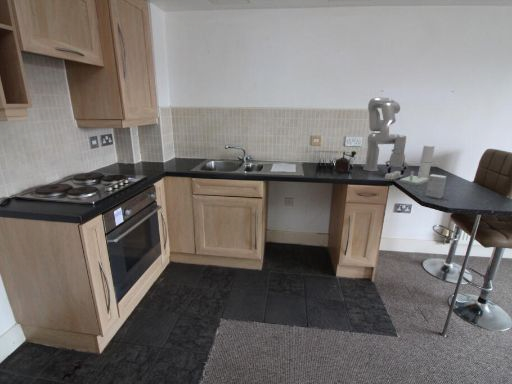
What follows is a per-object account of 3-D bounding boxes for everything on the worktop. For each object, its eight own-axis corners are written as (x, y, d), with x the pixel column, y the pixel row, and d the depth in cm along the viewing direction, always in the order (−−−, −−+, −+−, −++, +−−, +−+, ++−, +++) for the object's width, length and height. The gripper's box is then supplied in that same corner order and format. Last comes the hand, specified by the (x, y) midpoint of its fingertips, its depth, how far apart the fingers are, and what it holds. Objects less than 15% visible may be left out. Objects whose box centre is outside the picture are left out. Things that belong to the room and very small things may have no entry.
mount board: (399, 182, 206) (401, 171, 204) (411, 177, 220) (413, 167, 218) (416, 185, 198) (419, 174, 195) (428, 181, 211) (430, 170, 209)
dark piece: (334, 171, 237) (336, 149, 232) (337, 169, 247) (339, 148, 241) (353, 173, 230) (356, 151, 225) (355, 171, 240) (358, 150, 235)
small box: (442, 196, 173) (447, 176, 169) (440, 198, 169) (444, 177, 165) (427, 193, 178) (431, 173, 175) (425, 195, 174) (429, 175, 170)
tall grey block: (422, 179, 217) (429, 146, 210) (415, 176, 224) (421, 145, 217) (430, 178, 219) (436, 146, 212) (422, 176, 226) (429, 145, 219)
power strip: (384, 178, 215) (385, 174, 214) (396, 175, 228) (397, 171, 227) (391, 180, 212) (392, 175, 211) (402, 176, 224) (403, 172, 223)
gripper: (385, 151, 218) (382, 172, 222) (408, 153, 205) (404, 176, 210) (389, 150, 223) (386, 171, 227) (412, 152, 210) (409, 175, 214)
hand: (395, 173), depth 218 cm, fingers open, 9 cm apart
